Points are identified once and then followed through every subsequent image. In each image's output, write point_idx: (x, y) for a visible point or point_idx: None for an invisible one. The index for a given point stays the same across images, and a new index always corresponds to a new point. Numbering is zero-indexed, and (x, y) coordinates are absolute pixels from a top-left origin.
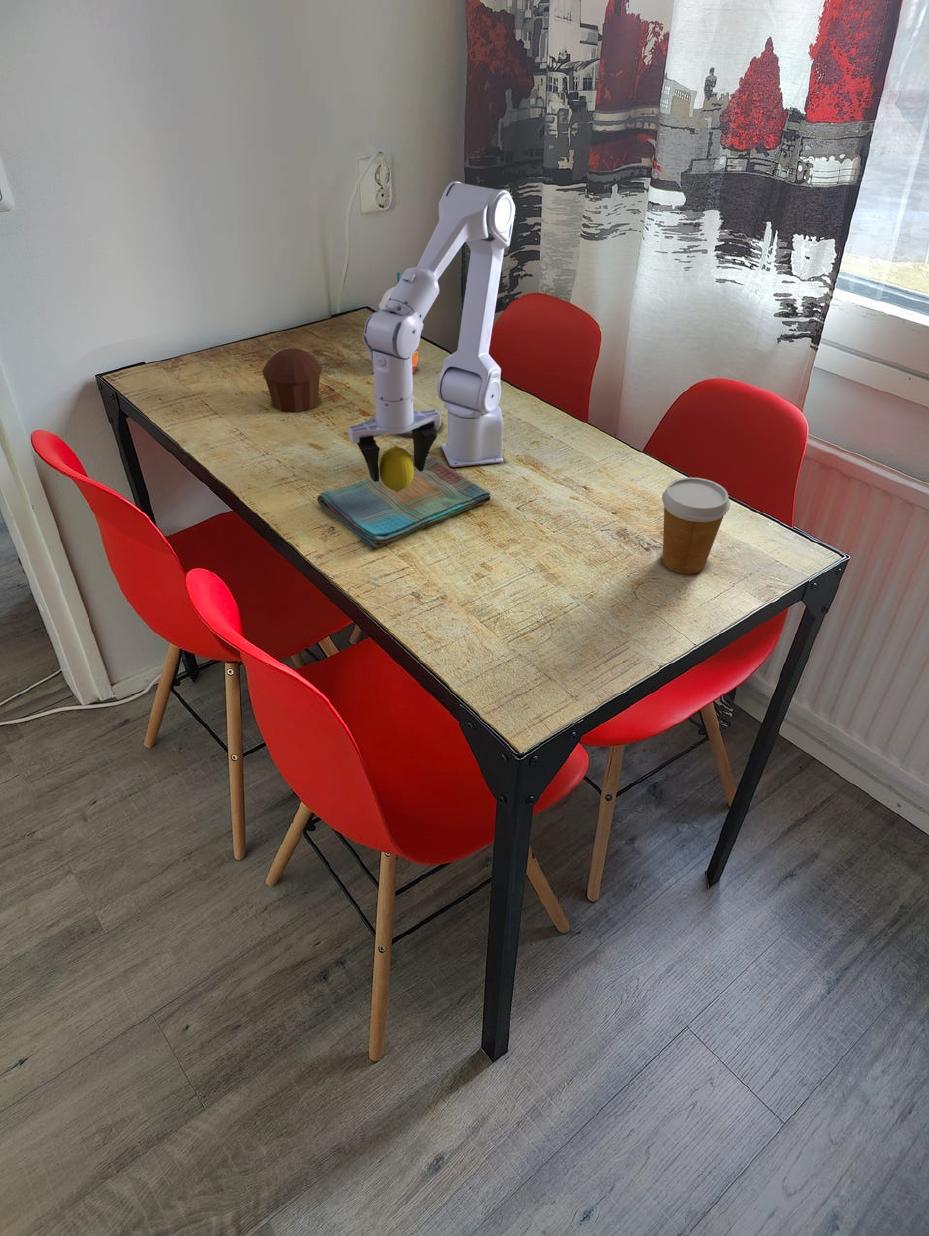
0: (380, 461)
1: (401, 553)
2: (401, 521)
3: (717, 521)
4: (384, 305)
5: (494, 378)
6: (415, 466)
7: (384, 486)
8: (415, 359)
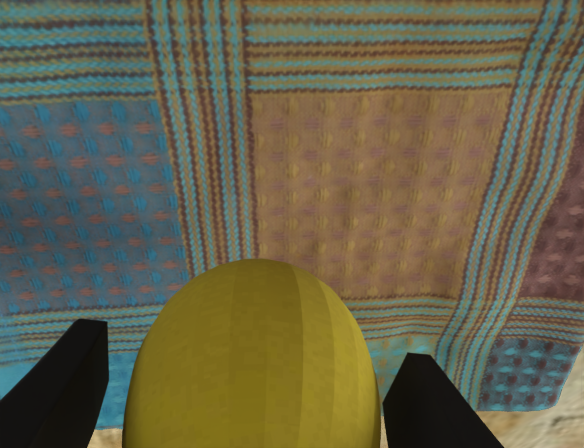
0: (127, 440)
1: (118, 434)
2: None
3: None
4: None
5: None
6: (404, 364)
7: (259, 137)
8: None
